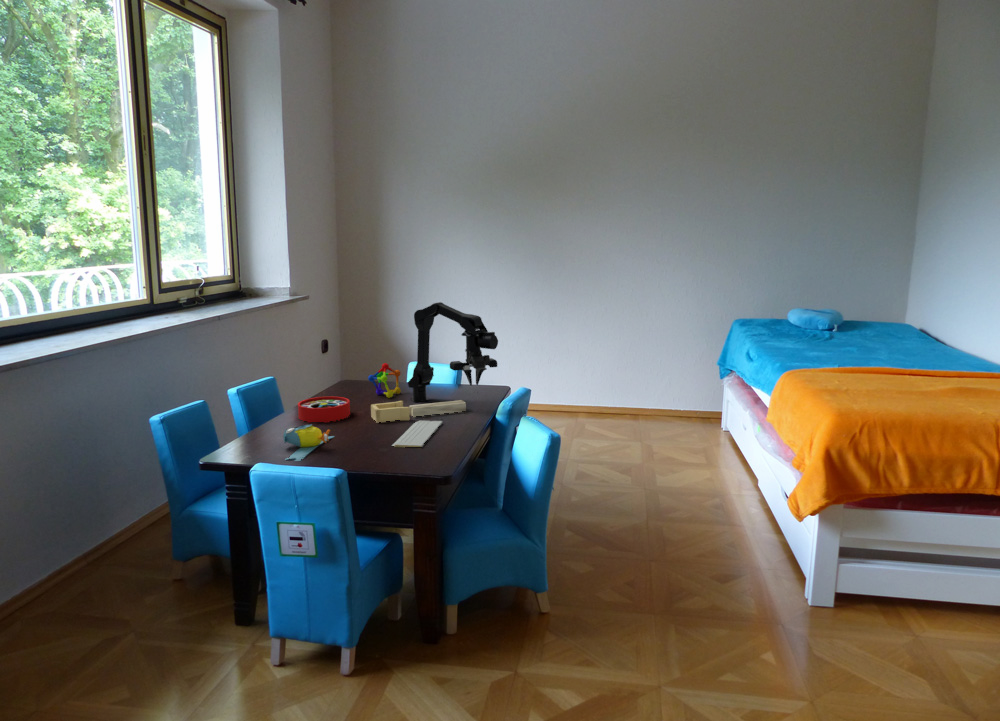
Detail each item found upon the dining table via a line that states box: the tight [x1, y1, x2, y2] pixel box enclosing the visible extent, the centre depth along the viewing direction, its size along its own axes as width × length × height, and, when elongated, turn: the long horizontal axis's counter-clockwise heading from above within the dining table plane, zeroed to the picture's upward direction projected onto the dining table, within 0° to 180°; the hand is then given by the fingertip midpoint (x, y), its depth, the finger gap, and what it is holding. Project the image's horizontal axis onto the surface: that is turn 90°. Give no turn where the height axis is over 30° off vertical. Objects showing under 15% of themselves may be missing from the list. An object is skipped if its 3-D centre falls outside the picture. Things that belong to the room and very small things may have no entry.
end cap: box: [370, 400, 411, 424], centre depth 278 cm, size 13×13×5 cm
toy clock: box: [297, 396, 351, 423], centre depth 283 cm, size 20×6×20 cm
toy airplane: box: [282, 424, 335, 462], centre depth 242 cm, size 28×9×15 cm
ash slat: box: [408, 399, 467, 418], centre depth 286 cm, size 5×22×4 cm, turn 112°
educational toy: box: [367, 362, 402, 399], centre depth 315 cm, size 16×13×15 cm
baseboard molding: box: [391, 416, 443, 448], centre depth 256 cm, size 31×3×12 cm
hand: (473, 385), depth 290 cm, fingers open, 2 cm apart
